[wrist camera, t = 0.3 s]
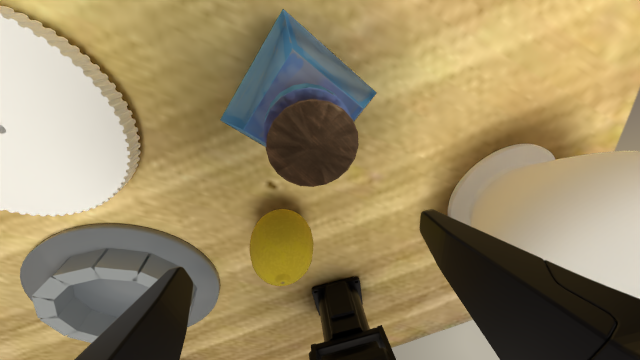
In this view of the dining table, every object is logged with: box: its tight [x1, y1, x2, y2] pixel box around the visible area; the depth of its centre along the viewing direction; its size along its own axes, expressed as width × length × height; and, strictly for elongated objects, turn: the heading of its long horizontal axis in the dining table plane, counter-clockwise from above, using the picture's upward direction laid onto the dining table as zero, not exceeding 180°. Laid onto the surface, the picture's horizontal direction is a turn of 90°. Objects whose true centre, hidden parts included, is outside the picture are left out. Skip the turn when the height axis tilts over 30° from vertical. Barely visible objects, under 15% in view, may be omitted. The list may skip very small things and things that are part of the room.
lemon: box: [250, 209, 313, 286], centre depth 21 cm, size 6×6×8 cm
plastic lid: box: [0, 6, 141, 216], centre depth 16 cm, size 14×14×2 cm
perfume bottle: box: [220, 9, 376, 187], centre depth 13 cm, size 6×6×12 cm
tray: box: [20, 224, 220, 343], centre depth 25 cm, size 18×18×3 cm
